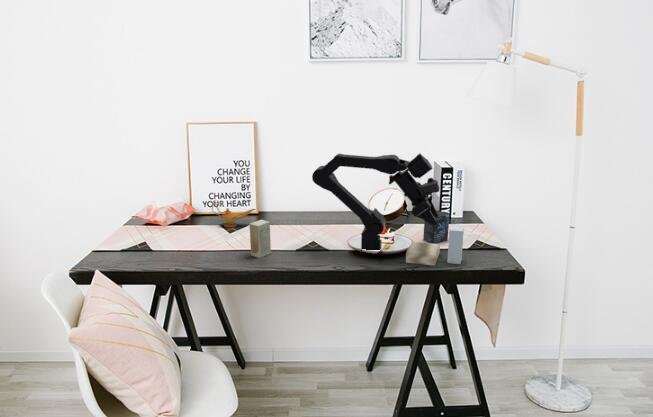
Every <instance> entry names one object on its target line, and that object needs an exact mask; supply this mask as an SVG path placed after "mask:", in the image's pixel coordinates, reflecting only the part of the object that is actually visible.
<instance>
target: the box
mask: <svg viewBox="0 0 653 417" xmlns="http://www.w3.org/2000/svg"><path fill="white" fill-rule="evenodd" d="M437 213H438V217H437V218H436V217H434V218H435V220H436V222H437V225H433V224H431V223H429V222H427V221H425V220H423V222H424V225H423V236H422V238H423V241H425V242H426V243H432V244H438V243H441V242H445V241H446V240H447V241H449V229H450V228H449V225H450V214H449V213H446V212H443V211H442V210H439V211H437Z"/></svg>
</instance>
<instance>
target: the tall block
mask: <svg viewBox="0 0 653 417" xmlns="http://www.w3.org/2000/svg"><path fill="white" fill-rule="evenodd" d="M464 231H465V227H462V226H451V225H450V228H449V229H448V246H447V258H446V259H447V262H446V263H447V264H453V265H454V264H455V265H461V262H462V258H463V244H464Z"/></svg>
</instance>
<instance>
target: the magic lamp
mask: <svg viewBox="0 0 653 417" xmlns="http://www.w3.org/2000/svg"><path fill="white" fill-rule="evenodd" d="M212 203H213V204H214V205H213V206H212V207H211V212H212V213H214V214H215V215H218V216H219V217H221V218H220V219H219V218H218V219H217V220H218V221H220V220H222V221H224V222H226V224H224V227H225V228H234V227H237V223H234V222H236V221H239V220H241V219H243V218H245V217H246V216H247V215H249V214H250V213H252V212H253V211H256V210H257V208H256V209H255V208H252V209H248V210H246V211H244V212H238V213H237V212H232V211H231V210H230V208H228V207H227V208H226V210H225V211H224V210H223V211H221V210H220V209H219V206H218V202H217V200H215V199H213V202H212ZM214 207H216V209H217V211H218V213H217V212H216V211H214V210H213V209H214ZM219 213H220V214H219ZM221 214H222V215H221Z"/></svg>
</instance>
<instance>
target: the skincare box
mask: <svg viewBox="0 0 653 417" xmlns="http://www.w3.org/2000/svg"><path fill="white" fill-rule="evenodd" d="M249 236H250V238H249V240H250V241H249V242H250V255H251V256H252V257H254V258H257V259H261V258H263V257H266V256H269V255H270V254H271V253H272V248H271V247H272V246H271V244H272V243H271V224H270V221H268V220H266V219H265V220H264V219H259V220H257V221H254V222H251V223H249Z"/></svg>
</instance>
